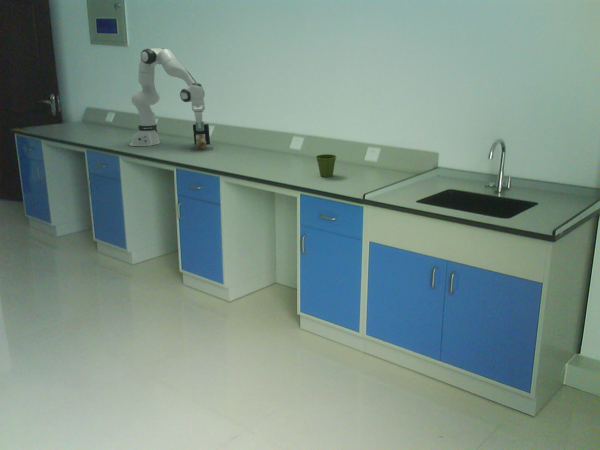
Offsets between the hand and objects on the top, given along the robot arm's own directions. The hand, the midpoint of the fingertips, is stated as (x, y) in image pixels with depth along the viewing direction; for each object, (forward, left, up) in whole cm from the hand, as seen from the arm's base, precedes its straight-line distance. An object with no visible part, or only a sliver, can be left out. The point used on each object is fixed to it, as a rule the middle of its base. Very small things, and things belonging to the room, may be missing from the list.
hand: (200, 127), depth 419 cm
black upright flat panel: (0, +20, -16) cm, 26 cm away
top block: (0, 0, -10) cm, 10 cm away
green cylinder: (0, 0, -2) cm, 2 cm away
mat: (0, 0, -16) cm, 16 cm away
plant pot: (+73, -96, -16) cm, 122 cm away
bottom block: (0, 0, -15) cm, 15 cm away
